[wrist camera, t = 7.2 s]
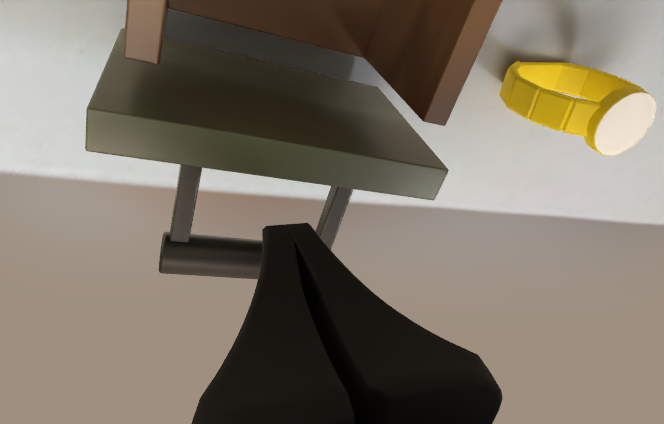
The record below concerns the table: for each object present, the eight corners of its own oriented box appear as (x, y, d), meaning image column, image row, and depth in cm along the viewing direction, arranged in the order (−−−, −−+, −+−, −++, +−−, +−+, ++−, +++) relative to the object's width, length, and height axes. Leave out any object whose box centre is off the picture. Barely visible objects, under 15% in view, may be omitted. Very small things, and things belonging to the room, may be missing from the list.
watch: (474, 100, 23) (545, 158, 19) (491, 43, 22) (573, 90, 17) (575, 102, 25) (664, 155, 20) (597, 48, 23) (700, 93, 19)
